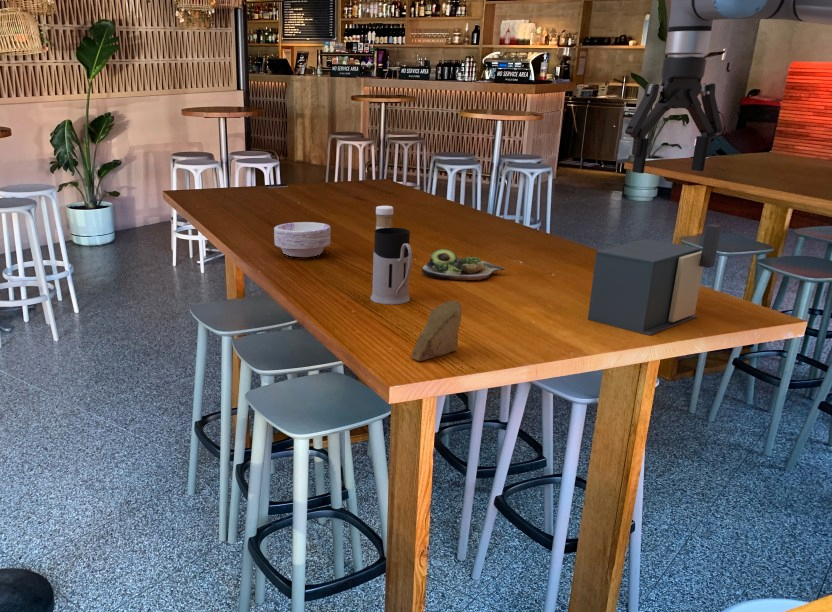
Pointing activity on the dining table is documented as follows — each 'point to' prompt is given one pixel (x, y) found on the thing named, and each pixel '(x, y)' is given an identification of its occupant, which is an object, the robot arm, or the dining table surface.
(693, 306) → the sliding door
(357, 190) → the dining table surface
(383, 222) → the sprinkles bottle
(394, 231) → the glass holder
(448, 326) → the rock
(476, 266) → the salad plate
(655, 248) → the cabinet
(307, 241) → the paper bowls
